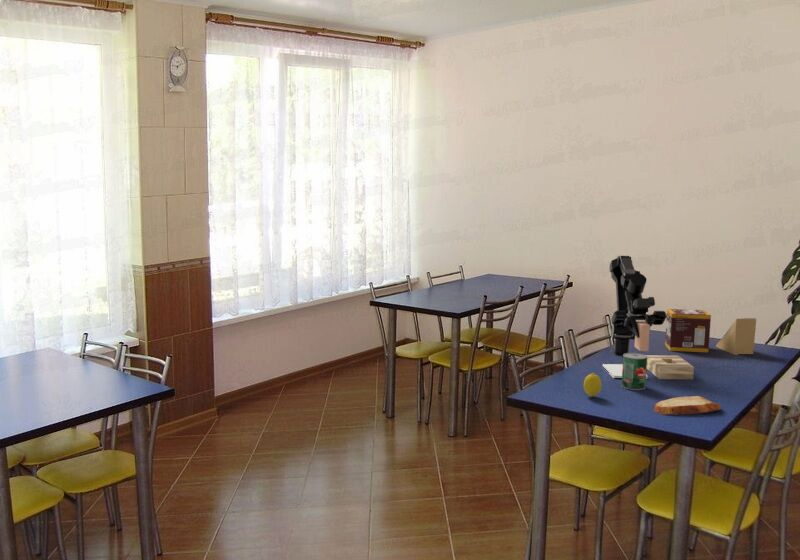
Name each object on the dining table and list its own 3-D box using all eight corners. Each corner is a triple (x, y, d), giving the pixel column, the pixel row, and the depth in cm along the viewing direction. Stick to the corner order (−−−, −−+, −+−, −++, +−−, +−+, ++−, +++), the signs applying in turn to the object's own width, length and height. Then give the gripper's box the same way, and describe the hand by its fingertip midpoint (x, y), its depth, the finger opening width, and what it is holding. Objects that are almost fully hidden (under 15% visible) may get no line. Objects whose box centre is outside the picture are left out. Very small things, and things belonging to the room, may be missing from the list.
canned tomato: (644, 391, 261) (646, 359, 259) (620, 388, 264) (622, 357, 262) (646, 385, 268) (647, 353, 267) (622, 382, 271) (624, 351, 269)
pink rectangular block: (634, 346, 285) (636, 321, 284) (642, 346, 285) (644, 321, 284) (640, 351, 279) (641, 325, 278) (648, 351, 280) (649, 325, 278)
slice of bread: (650, 413, 239) (651, 401, 239) (664, 398, 254) (665, 387, 254) (712, 424, 230) (713, 411, 229) (723, 408, 245) (724, 396, 245)
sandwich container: (733, 346, 327) (736, 310, 325) (754, 355, 312) (756, 318, 310) (714, 346, 326) (716, 311, 324) (733, 355, 311) (736, 318, 309)
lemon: (581, 394, 257) (582, 370, 256) (598, 394, 257) (599, 371, 256) (585, 399, 252) (586, 375, 250) (602, 399, 251) (603, 375, 250)
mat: (602, 366, 292) (602, 364, 292) (634, 367, 292) (634, 364, 292) (613, 378, 276) (613, 375, 276) (647, 378, 276) (647, 376, 276)
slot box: (645, 367, 292) (645, 355, 291) (677, 367, 292) (678, 355, 291) (659, 379, 276) (659, 366, 275) (693, 379, 276) (693, 366, 275)
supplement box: (664, 345, 327) (666, 308, 325) (702, 346, 325) (705, 309, 323) (669, 351, 317) (671, 313, 315) (708, 352, 315) (711, 314, 313)
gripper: (615, 288, 283) (623, 325, 274) (666, 289, 283) (676, 325, 274) (608, 306, 292) (615, 341, 283) (657, 306, 292) (666, 342, 283)
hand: (643, 337), depth 280 cm, fingers closed on pink rectangular block, 3 cm apart
